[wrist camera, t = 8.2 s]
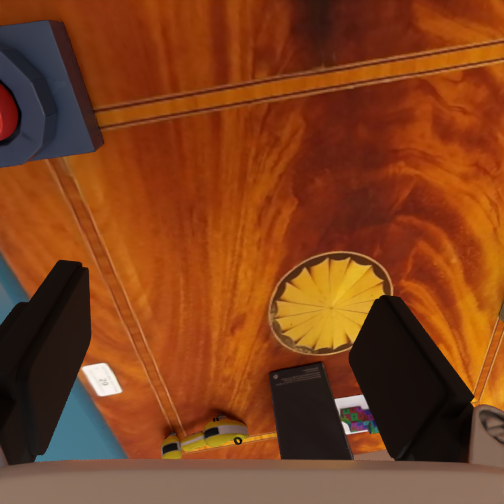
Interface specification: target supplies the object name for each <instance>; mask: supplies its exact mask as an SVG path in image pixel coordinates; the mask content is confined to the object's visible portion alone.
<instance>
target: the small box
mask: <svg viewBox="0 0 504 504" xmlns="http://www.w3.org/2000/svg"><path fill="white" fill-rule="evenodd" d="M269 376H270V386H271V396H272V403H273V410H274V417H275V424H276V430H277V437H278V443H279V449H280V455H281V460H354V458H353V454H352V451H351V448H350V445H349V442H348V439H347V436H346V433H345V430H344V427H343V424H342V421H341V418H340V415H339V411H338V409H337V406H336V403H335V400H334V397H333V394H332V390H331V387H330V384H329V380H328V377H327V373H326V370H325V367H324V364H323V363H317V364H313V365H308V366H303V367H298V368H292V369H287V370H282V371H277V372H272V373H270V374H269Z"/></svg>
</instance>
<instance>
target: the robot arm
mask: <svg viewBox="0 0 504 504" xmlns="http://www.w3.org/2000/svg"><path fill="white" fill-rule="evenodd" d="M90 340H91V316H90V290H89V270H88V268H86V267H82V263H81V262H76V261H67V260H59V261H58V262H57V263H56V264H55V266H54V267H53V269H52V270H51V272H50V273H49V274H48V276H47V277H46V279H45V280H44V281H43V283H42V284H41V286H40V287H39V288H38V290H37V291H36V293H35V294H34V295H33V297H32V298H31V300H30V301H29V303H28V302H20V303H18V304H17V305H16V306H15V307H14V308H13V309H12V311H11V312H10V313H9V315H8V316H7V317H6V319H5V320H4V322H2V324H1V325H0V504H504V412H503V411H502V410H500V409H498V408H496V407H493V406H490V405H486V404H482V405H478V406H476V407H475V408H474V407H473V405H472V404H471V403H470V402H471V401H472V400H473V398H474V397H475V396H474V395H473V394H472V392H471V391H470V390H469V388H468V387H467V386H466V384H465V383H464V382H463V380H462V379H461V378H460V376H459V375H458V374H457V372H456V371H455V370H454V368H453V367H452V366H451V364H450V363H449V362H448V360H447V359H446V358H445V356H444V355H443V354H442V352H441V351H440V350H439V348H438V347H437V346H436V344H435V343H434V342H433V340H432V339H431V337H430V336H429V335H428V333H427V332H426V331H425V329H424V328H423V327H422V325H421V324H420V323H419V321H418V320H417V319H416V317H415V316H414V315H413V313H412V312H411V311H410V309H409V308H408V307H407V305H406V304H405V303H404V301H403V300H402V299H401V298H400V297H397V296H388V295H382V296H380V297H379V299H376V300H375V301H374V303H373V305H372V307H371V309H370V311H369V313H368V315H367V317H366V319H365V322H364V324H363V326H362V328H361V330H360V332H359V334H358V336H357V338H356V340H355V342H354V344H353V346H352V348H351V351H350V353H349V363H350V366H351V368H352V370H353V373H354V375H355V377H356V380H357V382H358V384H359V386H360V389H361V391H362V393H363V396H364V398H365V400H366V403H367V405H368V407H369V410H370V412H371V414H372V417H373V419H374V421H375V424H376V426H377V428H378V430H379V433H380V435H381V437H382V440H383V442H384V444H385V447H386V449H387V451H388V453H389V455H390V456H391V457H392V458H394V459H395V461H368V460H367V461H365V460H273V459H101V460H64V461H45V462H34V461H35V459H36V456H37V455H43V454H44V453H45V452H46V450H47V448H48V446H49V443H50V441H51V438H52V436H53V433H54V431H55V428H56V426H57V423H58V421H59V419H60V416H61V414H62V411H63V408H64V406H65V404H66V401H67V399H68V396H69V394H70V391H71V389H72V387H73V384H74V382H75V379H76V377H77V374H78V372H79V369H80V367H81V364H82V362H83V360H84V357H85V355H86V352H87V350H88V347H89V344H90Z"/></svg>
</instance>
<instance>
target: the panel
mask: <svg viewBox="0 0 504 504" xmlns="http://www.w3.org/2000/svg"><path fill="white" fill-rule="evenodd" d="M499 318H500V319H501V320H502V321H503V322H504V302H503V305H502V308H501V312H500V315H499Z"/></svg>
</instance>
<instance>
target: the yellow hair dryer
mask: <svg viewBox="0 0 504 504" xmlns="http://www.w3.org/2000/svg"><path fill="white" fill-rule="evenodd" d="M225 418H226V416H224V415H222V414H219V415H218V416H217V418H216V419H215V418H213V420H212V421H209V422H208V423H207V424H206V425H205V427H204V432H203V431H200V432H197V433H193V434H192V435H189V436H186V437H184V439H183V440H182V441H180V439H179V438H178V437H176V433H174V432H171V433H170V435H169V437H166V438H165V440H164V441H163V443H162V445H161V451H162V459H180V458H181V456H182V449H183V450H184V451H191V450H193V449H196V448H199V447H202V446H205V445H209V446H210V447H216V446H219V445H222V444H224V443H226V442H228V441H229V440H234V442H235V444H236V445H239V444H241V443H242V440H244V439H247V438H248V437H249V435H248V430H247V426H246V425H245V424H244V423H242V422H239V421H236V420H230V419H225ZM237 440H239V441H240V443H238V442H237Z"/></svg>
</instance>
